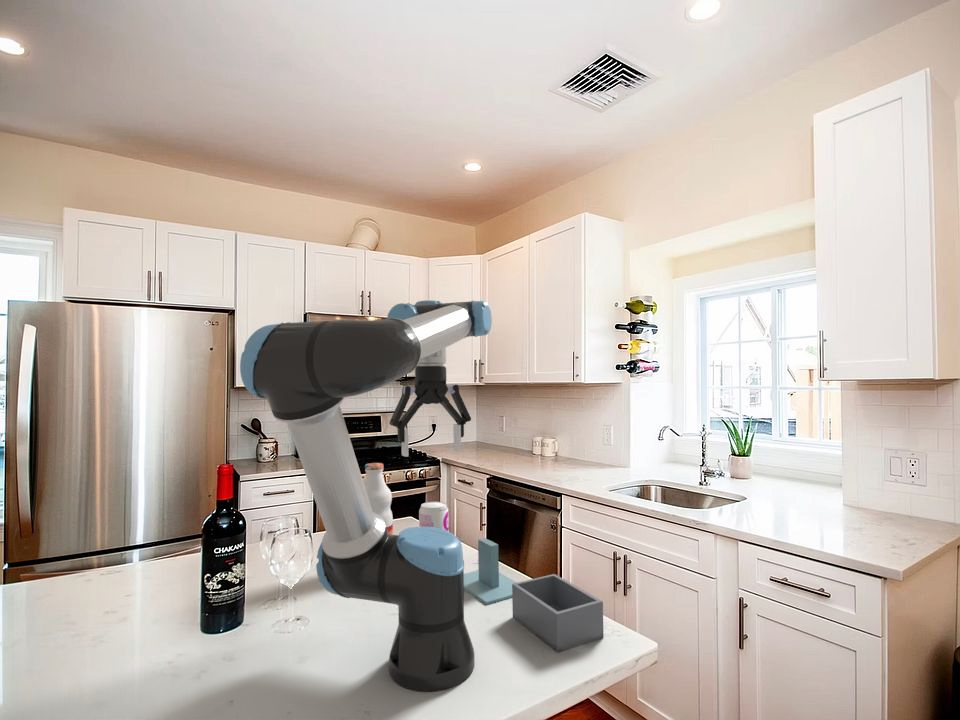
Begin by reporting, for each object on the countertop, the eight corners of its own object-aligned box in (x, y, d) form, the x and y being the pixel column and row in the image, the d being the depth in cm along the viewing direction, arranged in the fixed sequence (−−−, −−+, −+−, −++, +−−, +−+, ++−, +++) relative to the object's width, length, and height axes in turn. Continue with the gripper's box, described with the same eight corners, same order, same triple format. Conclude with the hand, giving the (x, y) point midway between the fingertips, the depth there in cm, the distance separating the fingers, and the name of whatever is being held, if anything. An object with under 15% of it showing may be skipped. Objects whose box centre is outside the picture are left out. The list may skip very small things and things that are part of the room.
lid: (529, 593, 123) (528, 546, 123) (486, 606, 117) (486, 557, 117) (490, 571, 138) (489, 529, 138) (450, 581, 131) (449, 537, 132)
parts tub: (603, 637, 102) (602, 601, 102) (557, 652, 97) (556, 614, 97) (555, 605, 116) (554, 573, 116) (512, 617, 111) (512, 583, 111)
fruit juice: (350, 570, 139) (349, 464, 139) (380, 560, 145) (379, 459, 146) (369, 579, 132) (368, 468, 133) (400, 569, 139) (399, 463, 139)
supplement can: (451, 553, 150) (450, 501, 151) (446, 564, 142) (445, 508, 142) (423, 552, 151) (422, 500, 151) (417, 563, 143) (416, 508, 143)
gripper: (385, 365, 117) (386, 460, 117) (483, 364, 129) (484, 450, 128) (375, 366, 124) (376, 455, 123) (469, 365, 135) (471, 447, 135)
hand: (431, 453), depth 126 cm, fingers open, 13 cm apart
